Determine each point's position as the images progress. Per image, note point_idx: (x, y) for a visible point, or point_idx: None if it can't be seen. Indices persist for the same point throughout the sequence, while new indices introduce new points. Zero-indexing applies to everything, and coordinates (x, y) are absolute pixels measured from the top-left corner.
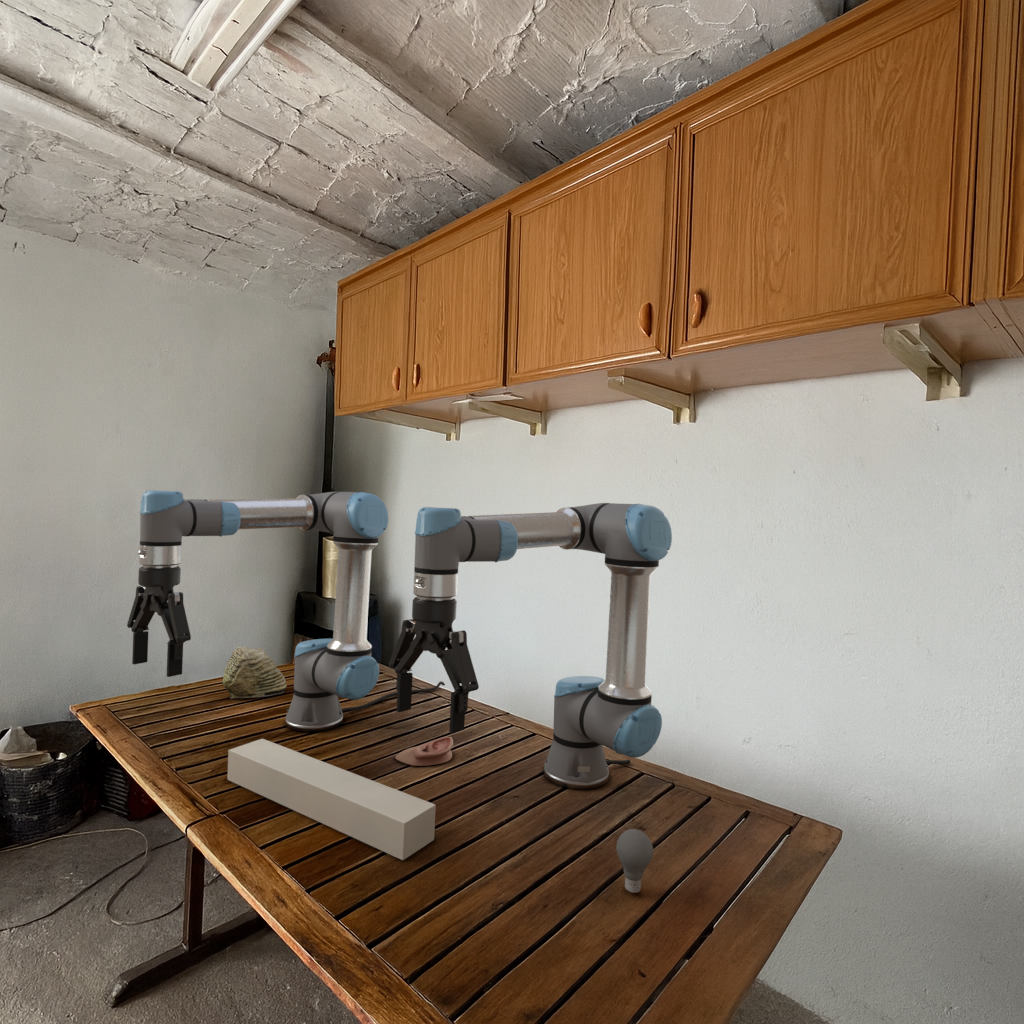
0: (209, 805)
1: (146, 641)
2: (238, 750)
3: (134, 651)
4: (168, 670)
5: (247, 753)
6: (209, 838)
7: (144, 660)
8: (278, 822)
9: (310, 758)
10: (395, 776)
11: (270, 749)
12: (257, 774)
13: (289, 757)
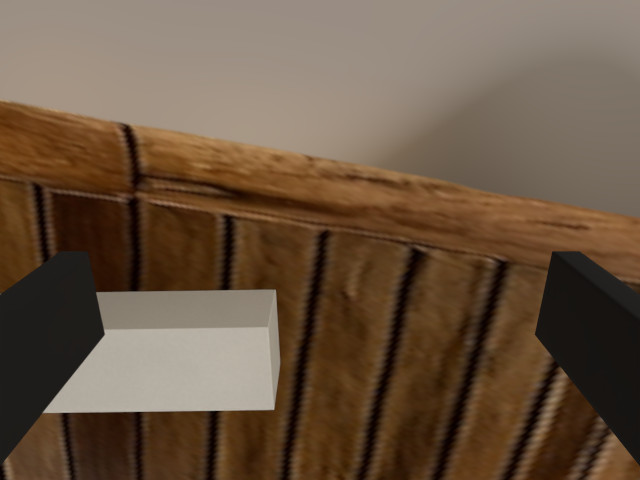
0: (186, 202)
1: (636, 445)
2: (244, 339)
3: (614, 300)
4: (39, 271)
5: (211, 342)
6: (40, 124)
7: (546, 325)
8: (16, 247)
9: (78, 407)
10: (51, 475)
11: (193, 385)
12: (152, 312)
13: (117, 384)
